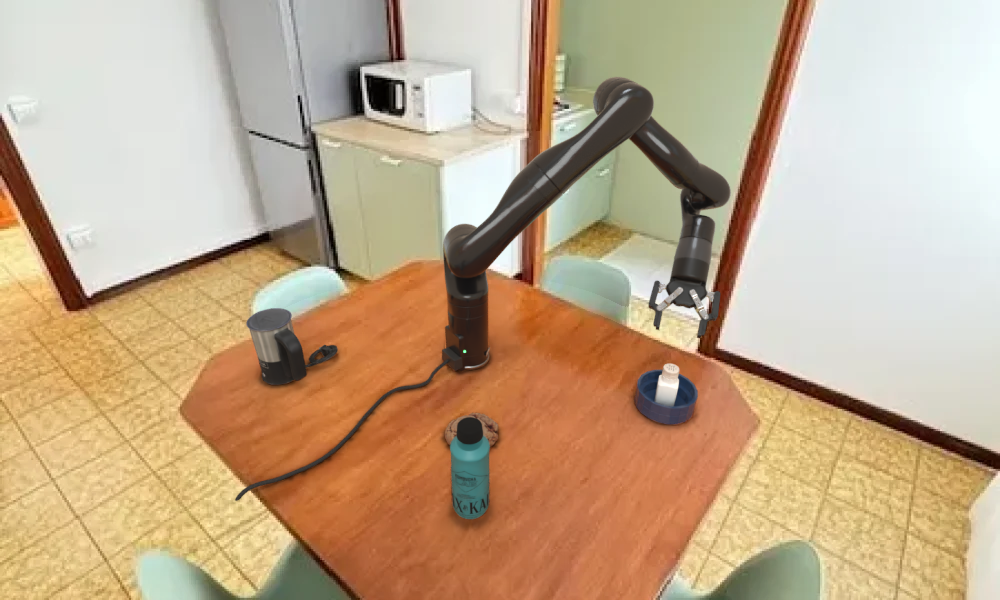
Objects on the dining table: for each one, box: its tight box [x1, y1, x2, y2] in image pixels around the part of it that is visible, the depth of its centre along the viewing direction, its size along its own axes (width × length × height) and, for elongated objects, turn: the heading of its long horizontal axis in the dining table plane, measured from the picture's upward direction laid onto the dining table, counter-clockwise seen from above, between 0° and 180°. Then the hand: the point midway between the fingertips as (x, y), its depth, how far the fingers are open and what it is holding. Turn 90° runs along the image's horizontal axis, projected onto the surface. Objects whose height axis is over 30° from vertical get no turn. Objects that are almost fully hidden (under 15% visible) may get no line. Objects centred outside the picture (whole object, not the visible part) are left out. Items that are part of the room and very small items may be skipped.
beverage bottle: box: [449, 417, 491, 520], centre depth 87 cm, size 6×7×20 cm
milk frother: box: [245, 307, 339, 386], centre depth 122 cm, size 14×16×15 cm
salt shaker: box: [654, 363, 681, 406], centre depth 112 cm, size 4×4×10 cm
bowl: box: [633, 369, 699, 425], centre depth 114 cm, size 12×12×5 cm
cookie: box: [444, 412, 500, 448], centre depth 106 cm, size 10×11×3 cm
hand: (677, 333), depth 115 cm, fingers open, 8 cm apart
